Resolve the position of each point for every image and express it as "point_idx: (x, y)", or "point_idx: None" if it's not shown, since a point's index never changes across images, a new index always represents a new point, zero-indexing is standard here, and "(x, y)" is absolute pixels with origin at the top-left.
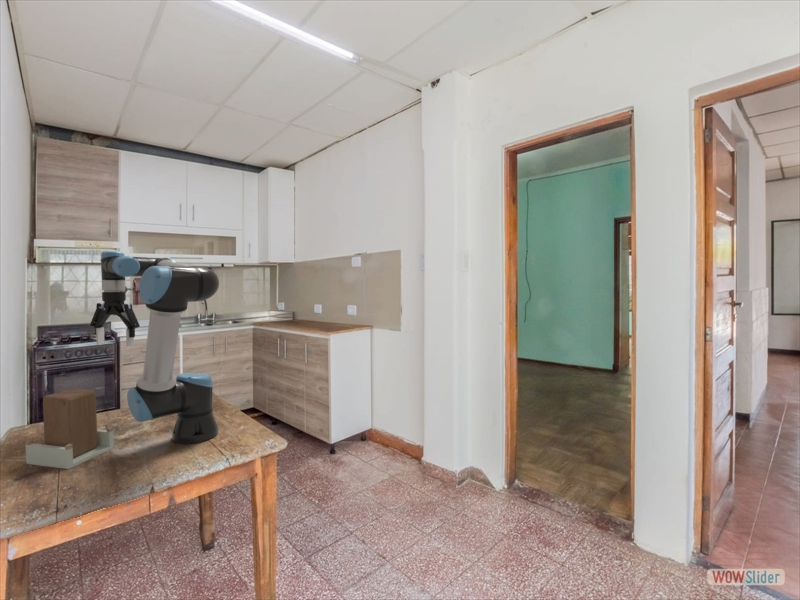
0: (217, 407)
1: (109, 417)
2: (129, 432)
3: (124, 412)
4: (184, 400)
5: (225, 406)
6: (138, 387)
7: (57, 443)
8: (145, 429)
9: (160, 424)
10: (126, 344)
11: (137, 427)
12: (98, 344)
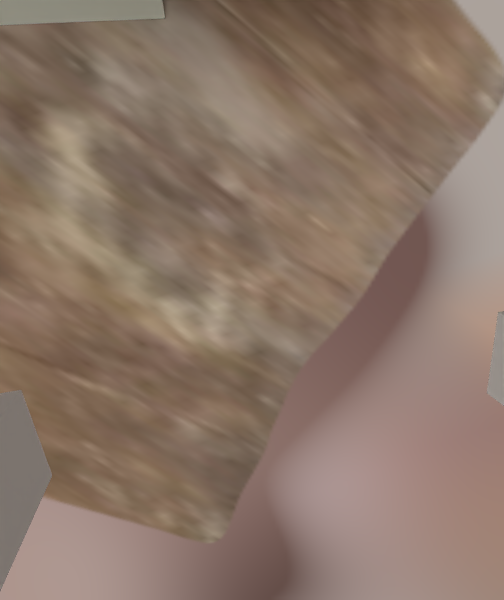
0: None
1: (301, 264)
2: (84, 176)
3: (297, 316)
4: None
5: None
6: None
7: None
8: (58, 219)
9: (57, 275)
10: (9, 407)
11: (108, 224)
12: (499, 315)
